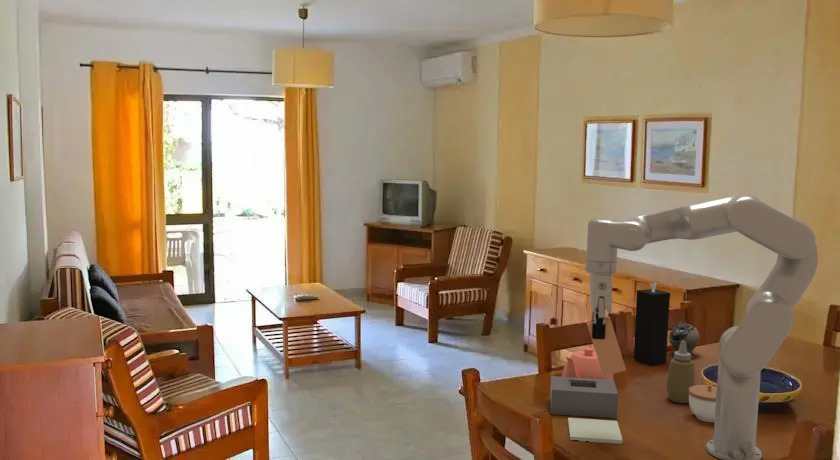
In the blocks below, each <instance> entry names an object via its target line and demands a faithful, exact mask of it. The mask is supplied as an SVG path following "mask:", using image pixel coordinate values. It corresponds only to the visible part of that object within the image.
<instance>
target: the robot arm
mask: <svg viewBox="0 0 840 460" xmlns="http://www.w3.org/2000/svg"><path fill="white" fill-rule="evenodd" d="M737 232H738V233H739V234H741V235H742V236H744V237H746V238H748V239H749V240H751V241H753V242H755V243H757V244H759V245H761V246H762V247H764V248H766V249H768V250H770V251H772V252H774V253H775V254H777V259H776V261H775V263H774V265H773V267H772V269H771V271H770V272H769V274H768V275H767V277H766V278H765V280H764V281H763V282H762V284H761V285H760V286H759V288H758V289H757V291H756V292H755V293H754V294H753V296H752V297H751V298H750V299H749V301H748V302H747V304H746V309H745V314H746V315H745V316H744V317H743V319H742V321H741V322H740V323H739V325H735V326H731V327H730V328H728V329H726V330H725V331H724V332H723V333H722V335H721V337H720V338H719V342H718V358H717V359H718V360H717V361H718V362H717V377H716V378H717V380H716V387H717V392H716V407H715V422H713V423H714V424H713V425H714V426H713V439H712V438H711V439H710V440H708V441H707V442H706V444H705V449H706V451H707V453H709V454H710V455H711V456H713V457H715V458H718V459H719V460H762V458H763V457H762V456H763V455H762V453H763V452H762V450H761V449H760V448H758V447H757V445H756V441H757V438H756V437H757V427H758V414H759V402H760V401H759V399H760V391H761V390H760V388H761V385H760V384H761V372H762V370H763V369H764V368H765V366H766V365H767V364H768V363H769V361H771V359H772V358H773V356H774V354H776V352H777V351H778V349H779V348H780V347H781V345H783V342H784V341H785V340H786V339H787V337H788V335H789V334H790V332H791V330H792V327H793V325H794V314H793V310H794V309H795V307H796V305H797V304H798V303H799V302H800V300H801V299H802V297H803V295H804V294H805V292H806V291H807V289H808V288H809V287H810V285H811V283H812V281H813V279H814V278H815V275H816V273H817V270H818V269H817V268H818V261H819V259H818V257H819V255H818V248H817V244H816V236H815V233H814V232H813V230H812V228H810V226H809V225H807V224H806V223H805V222H804V221H803V220H801V219H799V218H796V217H791V216H790V215H787V214H785V213H783V212H782V211H779V210H777V209H776V208H773V207H772V206H770V205H768V204H767V203H765V202H763V201H761V199H759V198H758V197H757V196H755V195H753V194H749V193H743V194H737V195H736V194H735V195H732V196H728V197H727V196H726V197H723V198H718V199H714V200H713V199H712V200H708V201H703V202H699V203H694V204H690V205H689V204H688V205H684V206H679V207H677V208H672V209H668V210H667V209H666V210H663V211H657V212H653V213H652V212H651V213H647V214H643V215H638V216H635V217H631V218H628V219H627V220H625V221H617V220H615V219H612V218H606V217H605V218H604V217H602V218H601V217H598V218H591V219H590V220H589V221H588V223H587V235H586V236H587V240H586V258H585V259H586V261H585V262H586V263H585V272H586V273H587V274H590V275H589V276H590V277H589V304H590V306H589V307H590V309H591V311H592V317H591V321H594V323H593V325H592V338H593V339H605V326H606V324H605V317H606V312H607V313H608V314H612V312H613V275H616V274H617V259H618V249H619V250H625V251H629V252H635V251H640V250H642V249H643V248H645V246H646V245H648V244H652V243H657V242H663V241H667V240H676V239H680V240H681V239H683V240H688V241H690V240H691V241H693V240H702V239H706V238H711V237H716V236H721V235H725V234H732V233H737ZM592 338H591V339H592Z"/></svg>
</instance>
